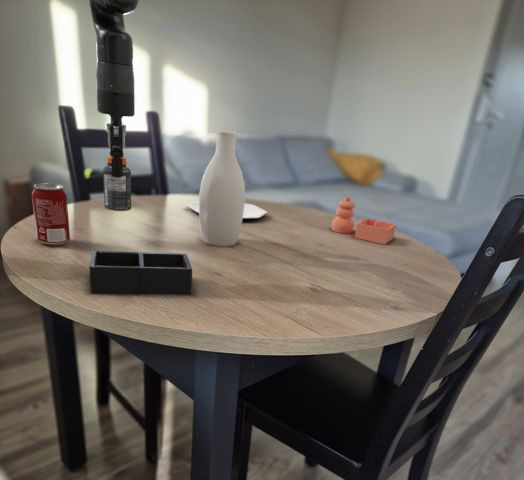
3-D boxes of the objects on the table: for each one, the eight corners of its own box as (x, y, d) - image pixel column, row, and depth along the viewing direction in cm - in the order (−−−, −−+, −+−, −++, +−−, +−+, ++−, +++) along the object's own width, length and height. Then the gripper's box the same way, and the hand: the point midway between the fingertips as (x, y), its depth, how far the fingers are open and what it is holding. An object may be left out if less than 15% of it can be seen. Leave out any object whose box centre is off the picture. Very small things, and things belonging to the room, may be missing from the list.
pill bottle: (116, 204, 114) (115, 153, 109) (136, 209, 112) (136, 158, 107) (98, 207, 109) (96, 154, 104) (119, 213, 107) (118, 159, 102)
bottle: (195, 245, 116) (201, 130, 104) (198, 233, 125) (203, 127, 114) (241, 249, 117) (252, 136, 105) (240, 237, 127) (250, 132, 115)
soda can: (70, 247, 104) (66, 190, 99) (36, 246, 102) (29, 188, 96) (70, 238, 110) (65, 183, 104) (37, 237, 108) (31, 182, 102)
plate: (272, 212, 158) (273, 208, 158) (251, 227, 138) (252, 221, 137) (206, 201, 163) (206, 196, 162) (176, 213, 142) (176, 208, 142)
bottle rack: (90, 293, 84) (89, 266, 81) (93, 275, 91) (92, 250, 89) (191, 294, 88) (192, 269, 86) (185, 276, 96) (186, 253, 94)
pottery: (392, 238, 145) (400, 205, 140) (384, 244, 137) (392, 209, 133) (337, 226, 151) (342, 193, 147) (326, 231, 144) (332, 197, 139)
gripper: (98, 86, 104) (100, 168, 112) (94, 87, 92) (98, 178, 100) (133, 91, 107) (134, 170, 114) (135, 92, 94) (135, 181, 102)
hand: (117, 174), depth 107 cm, fingers closed on pill bottle, 6 cm apart
